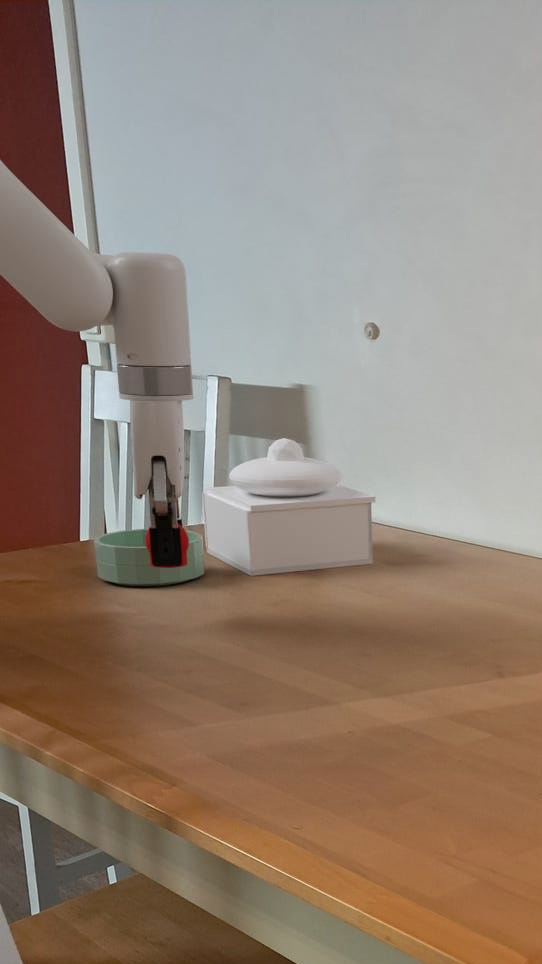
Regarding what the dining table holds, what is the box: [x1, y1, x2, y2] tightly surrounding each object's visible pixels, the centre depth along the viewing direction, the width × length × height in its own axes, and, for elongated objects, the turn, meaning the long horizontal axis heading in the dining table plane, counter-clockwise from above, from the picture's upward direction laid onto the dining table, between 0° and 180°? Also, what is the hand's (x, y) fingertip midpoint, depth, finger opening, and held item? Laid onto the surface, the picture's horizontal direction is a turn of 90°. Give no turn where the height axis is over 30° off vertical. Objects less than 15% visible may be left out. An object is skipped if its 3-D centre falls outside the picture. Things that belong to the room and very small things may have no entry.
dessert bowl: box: [93, 528, 206, 587], centre depth 162 cm, size 13×13×5 cm
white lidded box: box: [201, 437, 376, 577], centre depth 172 cm, size 18×18×16 cm
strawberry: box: [145, 516, 189, 568], centre depth 139 cm, size 5×5×5 cm
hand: (168, 558), depth 139 cm, fingers closed on strawberry, 4 cm apart
